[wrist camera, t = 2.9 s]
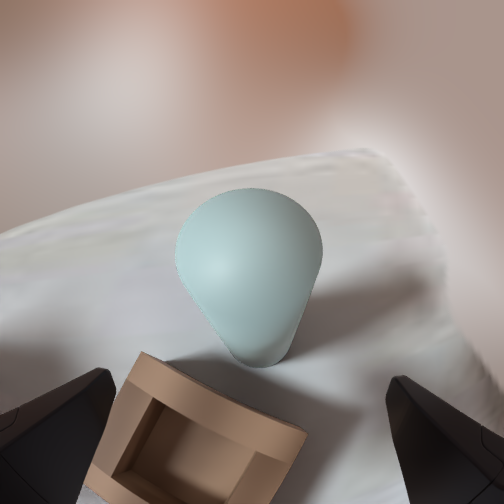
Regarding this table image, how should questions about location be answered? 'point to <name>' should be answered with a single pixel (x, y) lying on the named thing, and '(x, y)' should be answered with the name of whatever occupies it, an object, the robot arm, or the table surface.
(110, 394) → the robot arm
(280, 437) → the socket base
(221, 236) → the column
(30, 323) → the table surface
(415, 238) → the table surface
